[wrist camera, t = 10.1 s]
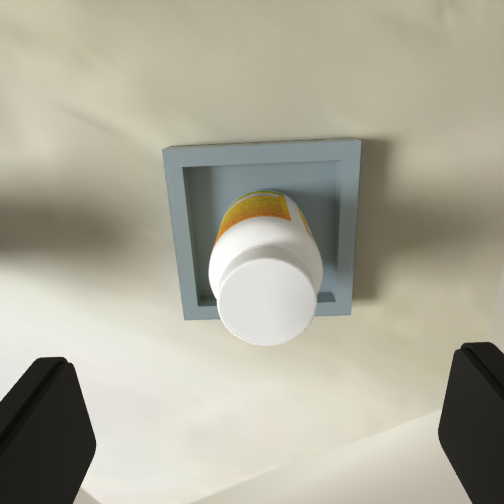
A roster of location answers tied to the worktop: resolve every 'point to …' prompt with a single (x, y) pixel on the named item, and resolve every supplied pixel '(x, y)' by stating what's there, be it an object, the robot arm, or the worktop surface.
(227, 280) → the supplement bottle
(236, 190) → the tray
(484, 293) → the worktop surface
